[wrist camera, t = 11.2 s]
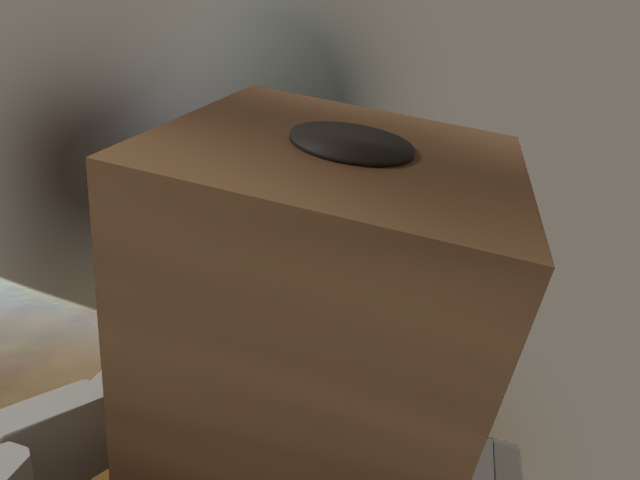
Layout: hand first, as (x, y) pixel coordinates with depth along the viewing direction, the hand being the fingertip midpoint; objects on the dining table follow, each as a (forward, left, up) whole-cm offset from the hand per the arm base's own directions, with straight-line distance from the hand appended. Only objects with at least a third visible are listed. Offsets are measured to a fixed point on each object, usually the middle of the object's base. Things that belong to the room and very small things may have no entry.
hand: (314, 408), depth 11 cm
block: (-1, 0, -8) cm, 8 cm away
